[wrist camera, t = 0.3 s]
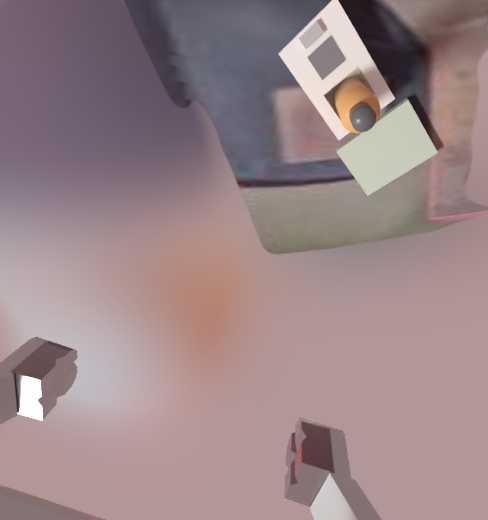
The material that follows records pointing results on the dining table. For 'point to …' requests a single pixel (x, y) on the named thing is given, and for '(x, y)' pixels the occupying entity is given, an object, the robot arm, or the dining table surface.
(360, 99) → the orange capped bottle
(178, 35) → the dining table surface
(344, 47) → the white bottle holder
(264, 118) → the dining table surface
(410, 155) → the mat
